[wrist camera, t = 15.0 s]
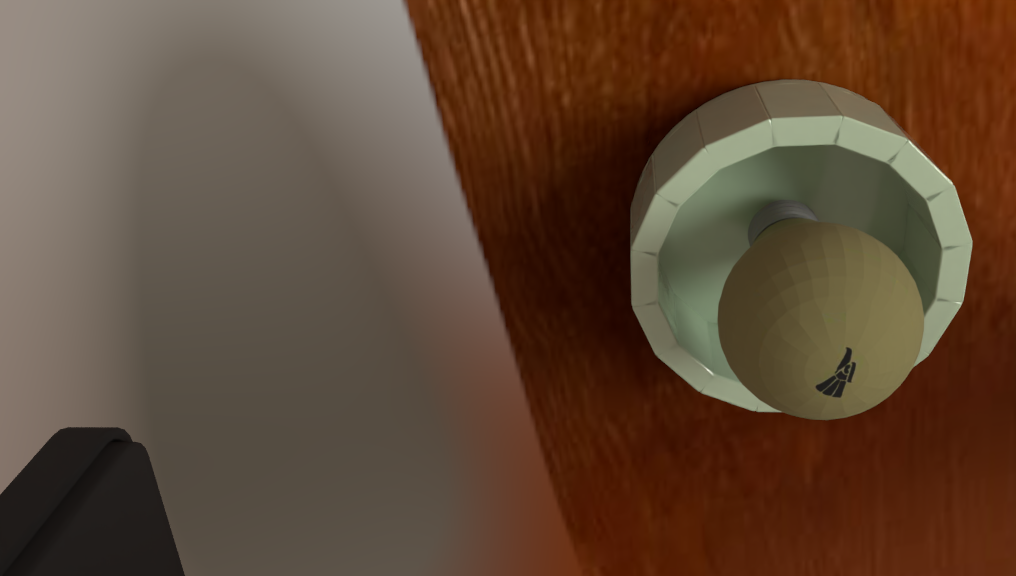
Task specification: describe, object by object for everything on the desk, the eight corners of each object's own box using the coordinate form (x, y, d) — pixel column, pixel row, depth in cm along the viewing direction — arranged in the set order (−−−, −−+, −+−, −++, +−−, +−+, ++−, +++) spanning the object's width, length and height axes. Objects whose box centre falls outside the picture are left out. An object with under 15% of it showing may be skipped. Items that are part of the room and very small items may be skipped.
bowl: (632, 348, 37) (633, 412, 33) (628, 86, 32) (627, 123, 28) (910, 346, 35) (946, 413, 31) (946, 72, 31) (994, 109, 27)
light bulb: (858, 292, 34) (939, 461, 25) (701, 297, 35) (726, 461, 26) (870, 144, 31) (964, 273, 22) (700, 153, 32) (728, 280, 23)
